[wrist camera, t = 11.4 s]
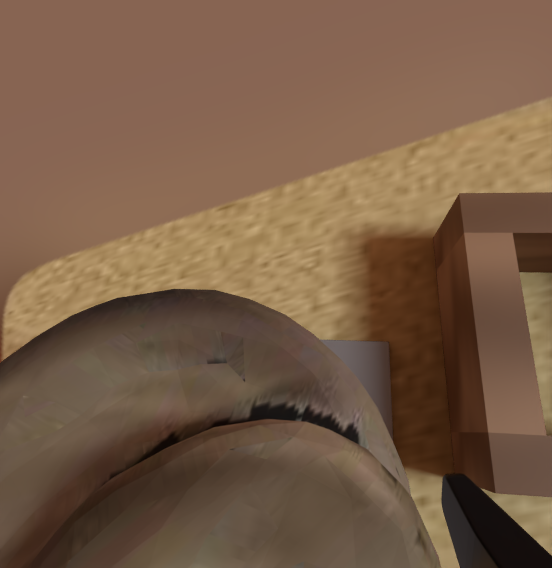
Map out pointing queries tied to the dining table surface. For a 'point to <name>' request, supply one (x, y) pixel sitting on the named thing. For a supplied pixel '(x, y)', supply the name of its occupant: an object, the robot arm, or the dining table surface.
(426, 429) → the dining table surface
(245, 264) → the dining table surface
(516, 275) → the socket block
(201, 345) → the light bulb
